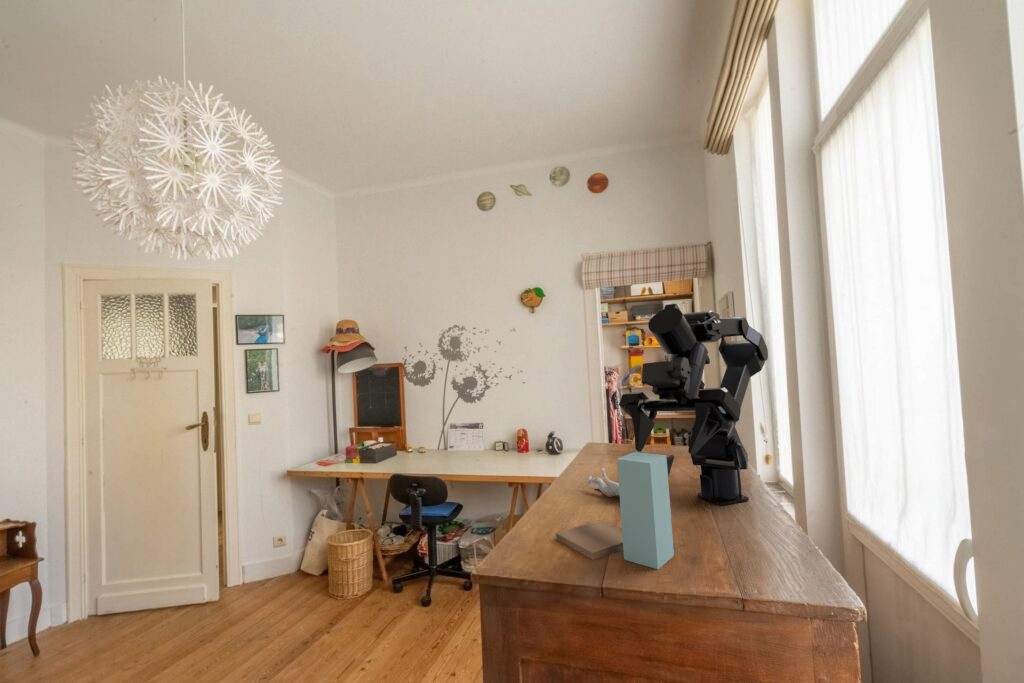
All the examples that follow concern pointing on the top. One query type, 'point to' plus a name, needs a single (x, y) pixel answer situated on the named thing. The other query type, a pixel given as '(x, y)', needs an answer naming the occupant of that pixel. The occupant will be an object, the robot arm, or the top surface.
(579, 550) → the base tile
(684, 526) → the top surface
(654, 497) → the pillar
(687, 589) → the top surface
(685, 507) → the top surface
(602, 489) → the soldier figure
